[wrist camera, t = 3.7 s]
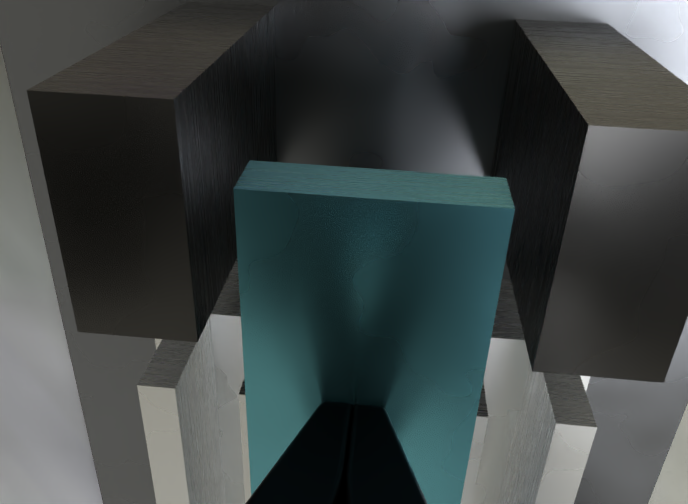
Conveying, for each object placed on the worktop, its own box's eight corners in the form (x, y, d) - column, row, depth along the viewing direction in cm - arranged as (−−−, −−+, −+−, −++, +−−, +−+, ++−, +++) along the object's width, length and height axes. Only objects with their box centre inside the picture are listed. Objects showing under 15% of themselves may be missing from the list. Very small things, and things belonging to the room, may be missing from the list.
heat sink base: (578, 601, 20) (643, 893, 15) (142, 554, 21) (38, 811, 16) (797, -12, 11) (1197, 107, 6) (26, -49, 12) (-325, 19, 6)
